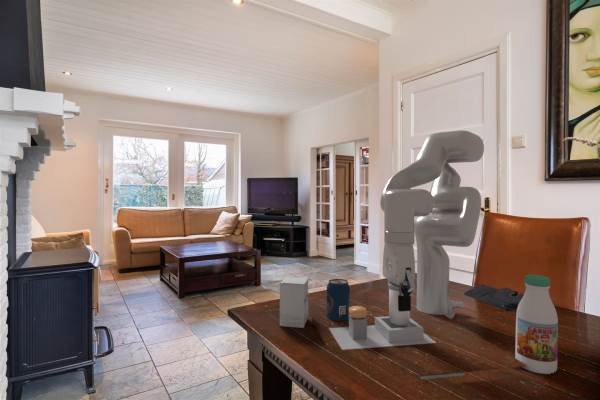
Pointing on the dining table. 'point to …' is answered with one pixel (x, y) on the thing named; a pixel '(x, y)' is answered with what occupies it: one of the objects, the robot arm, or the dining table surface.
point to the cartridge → (396, 306)
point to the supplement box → (294, 302)
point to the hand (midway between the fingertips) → (399, 306)
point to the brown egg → (357, 312)
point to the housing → (379, 334)
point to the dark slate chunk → (496, 297)
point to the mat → (441, 375)
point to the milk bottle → (537, 327)
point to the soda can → (338, 299)
